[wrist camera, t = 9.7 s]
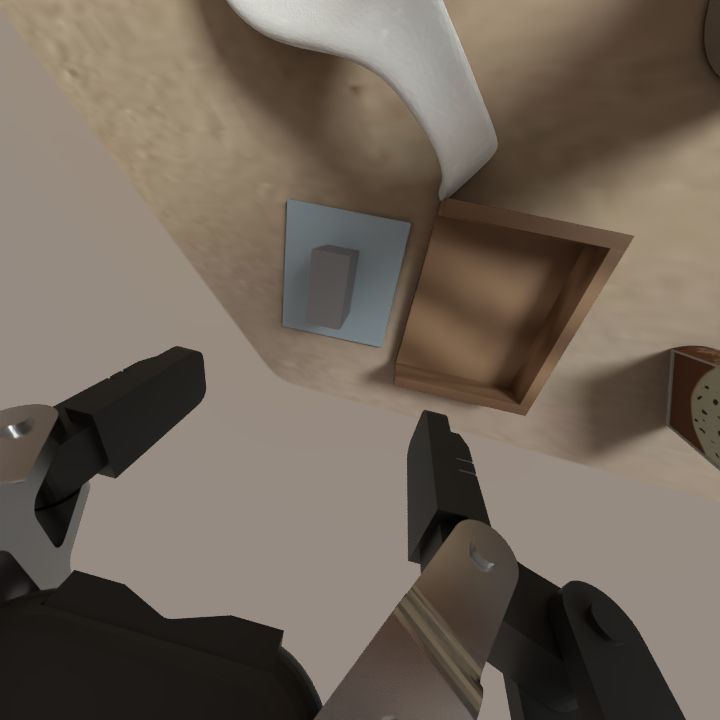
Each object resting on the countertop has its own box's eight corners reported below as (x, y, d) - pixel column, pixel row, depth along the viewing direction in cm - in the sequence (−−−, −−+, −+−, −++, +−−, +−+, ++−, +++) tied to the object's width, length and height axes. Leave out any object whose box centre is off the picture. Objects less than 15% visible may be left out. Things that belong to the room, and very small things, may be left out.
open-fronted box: (440, 202, 22) (447, 197, 19) (597, 234, 22) (634, 235, 18) (394, 366, 30) (393, 384, 26) (510, 392, 29) (525, 415, 26)
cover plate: (291, 199, 24) (260, 192, 19) (410, 223, 24) (413, 222, 19) (285, 322, 30) (260, 344, 25) (382, 343, 30) (378, 370, 24)
